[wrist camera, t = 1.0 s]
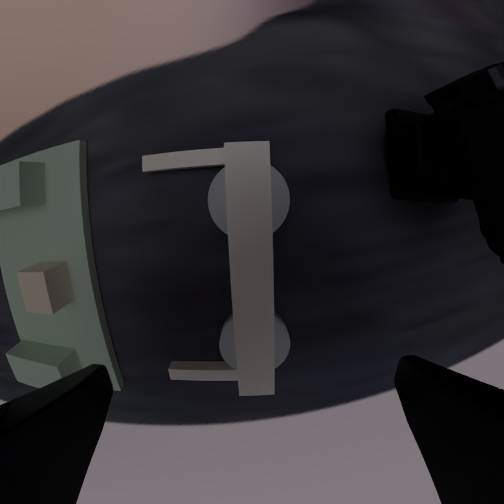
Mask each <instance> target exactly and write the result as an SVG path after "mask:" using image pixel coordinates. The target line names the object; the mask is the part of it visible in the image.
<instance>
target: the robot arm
mask: <svg viewBox="0 0 504 504" xmlns="http://www.w3.org/2000/svg"><path fill="white" fill-rule="evenodd" d="M424 97H425V99H426V101H427V102H428V104H429V105H431V106H432V108H433V110H434V112H435V113H432V114H429V115H424V114H420V113H415V112H410V111H405V110H399V109H390V110H388V111H387V112H386V121H387V131H388V133H387V134H386V141H387V157H388V169H389V170H390V193H391V196H392V197H393V198H394V199H398V200H420V201H439V202H457V201H458V199H468V200H473V202H474V205H475V208H476V211H477V214H478V218H479V221H480V230H481V233H482V235H483V236H484V237H485V239H486V241H487V244H488V246H489V248H490V249H491V250H492V251H493V252H494V253H496V254H497V255H498V256H500V260H501V262H502V263H503V264H504V62H500V63H497V64H493V65H490V66H487V67H485V68H482V69H480V70H478V71H475V72H473V73H471V74H468V75H466V76H464V77H462V78H460V79H457V80H455V81H453V82H451V83H449V84H447V85H445V86H443V87H441V88H439V89H437V90H435V91H433V92H431V93H429V94H427V95H425V96H424ZM392 113H393V114H394V115H395V118H393V117H392V115H391V114H392ZM397 189H398V190H399V195H398V196H397V194H396V190H397ZM394 383H395V387H396V390H397V393H398V395H399V398H400V401H401V404H402V407H403V410H404V413H405V416H406V419H407V422H408V424H409V427H410V429H411V431H412V433H413V435H414V438H415V440H416V442H417V444H418V447H419V449H420V451H421V454H422V456H423V458H424V461H425V463H426V465H427V468H428V470H429V473H430V475H431V477H432V480H433V483H434V485H435V488H436V490H437V493H438V496H439V498H440V501H441V503H442V504H504V390H503V389H499V388H497V387H494V386H492V385H489V384H486V383H484V382H481V381H478V380H475V379H473V378H470V377H468V376H465V375H463V374H460V373H457V372H455V371H452V370H450V369H447V368H445V367H442V366H440V365H437V364H435V363H432V362H430V361H427V360H425V359H422V358H420V357H417V356H415V355H407V356H403V357H401V358H400V360H399V363H398V367H397V370H396V374H395V378H394ZM112 394H113V384H112V382H111V379H110V376H109V373H108V370H107V368H106V366H105V365H101V364H91V365H89V366H87V367H85V368H83V369H81V370H78V371H76V372H74V373H72V374H70V375H68V376H65V377H63V378H61V379H59V380H57V381H54V382H52V383H50V384H48V385H46V386H43V387H41V388H39V389H37V390H34V391H32V392H30V393H28V394H25V395H23V396H21V397H18V398H16V399H14V400H11V401H10V402H7V403H4V404H2V405H0V504H76V502H77V499H78V496H79V493H80V490H81V487H82V484H83V481H84V478H85V475H86V473H87V470H88V467H89V464H90V462H91V458H92V456H93V453H94V451H95V448H96V445H97V443H98V440H99V438H100V435H101V432H102V430H103V426H104V423H105V419H106V415H107V412H108V408H109V405H110V401H111V398H112Z"/></svg>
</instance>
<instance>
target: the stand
mask: <svg viewBox="0 0 504 504" xmlns="http://www.w3.org/2000/svg"><path fill="white" fill-rule="evenodd" d="M86 149H87V142H86V141H82V140H77V141H73V142H70V143H66V144H62V145H59V146H56V147H52V148H49V149H46V150H43V151H40V152H36V153H33V154H31V155H28V156H25V157H22V158H19V159H16V160H14V161H11V162H9V163H6V164H3V165H1V166H0V266H1V271H2V276H3V281H4V285H5V289H6V293H7V297H8V301H9V305H10V309H11V312H12V315H13V319H14V322H15V325H16V328H17V331H18V334H19V337H20V340H21V342H19V343H18V344H17V345H16V346H14V347H13V348H12V349H11V350H9V351H8V352H7V353H6V356H7V359H8V361H9V363H10V366H11V368H12V370H13V372H14V375H15V377H16V379H17V381H19V382H22V383H25V384H28V385H31V386H34V387H37V388H41V387H43V386H46V385H48V384H50V383H52V382H54V381H57V380H59V379H61V378H63V377H65V376H68V375H70V374H72V373H74V372H76V371H78V370H81V369H83V368H85V367H87V366H89V365H91V364H101V365H105V366H106V368H107V370H108V373H109V376H110V379H111V382H112V384H113V390H116V391H121V390H122V388H123V387H124V385H125V384H124V381H123V378H122V375H121V372H120V369H119V365H118V362H117V359H116V355H115V352H114V348H113V345H112V341H111V337H110V333H109V330H108V326H107V321H106V317H105V313H104V308H103V304H102V299H101V294H100V289H99V284H98V278H97V272H96V266H95V260H94V253H93V245H92V237H91V229H90V218H89V207H88V191H87V158H86Z"/></svg>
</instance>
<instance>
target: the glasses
mask: <svg viewBox="0 0 504 504" xmlns="http://www.w3.org/2000/svg"><path fill="white" fill-rule="evenodd" d="M215 166H225V167H224V168H223V169H222V170H221V171H220V172H218V174H217V175H216V176H215V178H214V179H213V181H212V183H211V185H210V189H209V193H208V208H209V211H210V214H211V217H212V219H213V221H214V222H215V224H216V225H217V226H218V227H219V228H220V229H221V230H222V231H223V232H224V233H226V234H227V235H228V245H229V263H230V279H231V294H232V309H233V313H232V314H231V315H229V316H228V318H227V319H226V320H225V322H224V324H223V326H222V330H221V335H220V341H219V348H220V353H221V355H222V357H223V359H224V360H225V361H171V364H170V366H169V368H168V371H169V375H170V379H172V380H197V381H238V386H239V396H253V395H273V394H274V369H275V368H277V367H278V366H279V365H280V364H281V363H283V361H284V360H285V359H286V357H287V355H288V353H289V350H290V338H289V334H288V330H287V327H286V324H285V322H284V320H283V319H282V318H281V316H280V315H279V314H278V313H276V312H275V311H274V270H273V232H275V231H276V230H277V229H278V228H279V227H280V226H281V225H282V223H283V222H284V220H285V218H286V216H287V214H288V210H289V205H290V194H289V189H288V186H287V184H286V182H285V180H284V178H283V177H282V175H281V174H280V173H279V172H278V171H277V170H276V169H275V168H274V167H272V166H271V165H270V145H269V141H250V142H229V143H224V148H214V149H201V150H189V151H179V152H170V153H162V154H154V155H146V156H142V171H143V172H148V173H150V172H159V171H168V170H178V169H189V168H201V167H215Z"/></svg>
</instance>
